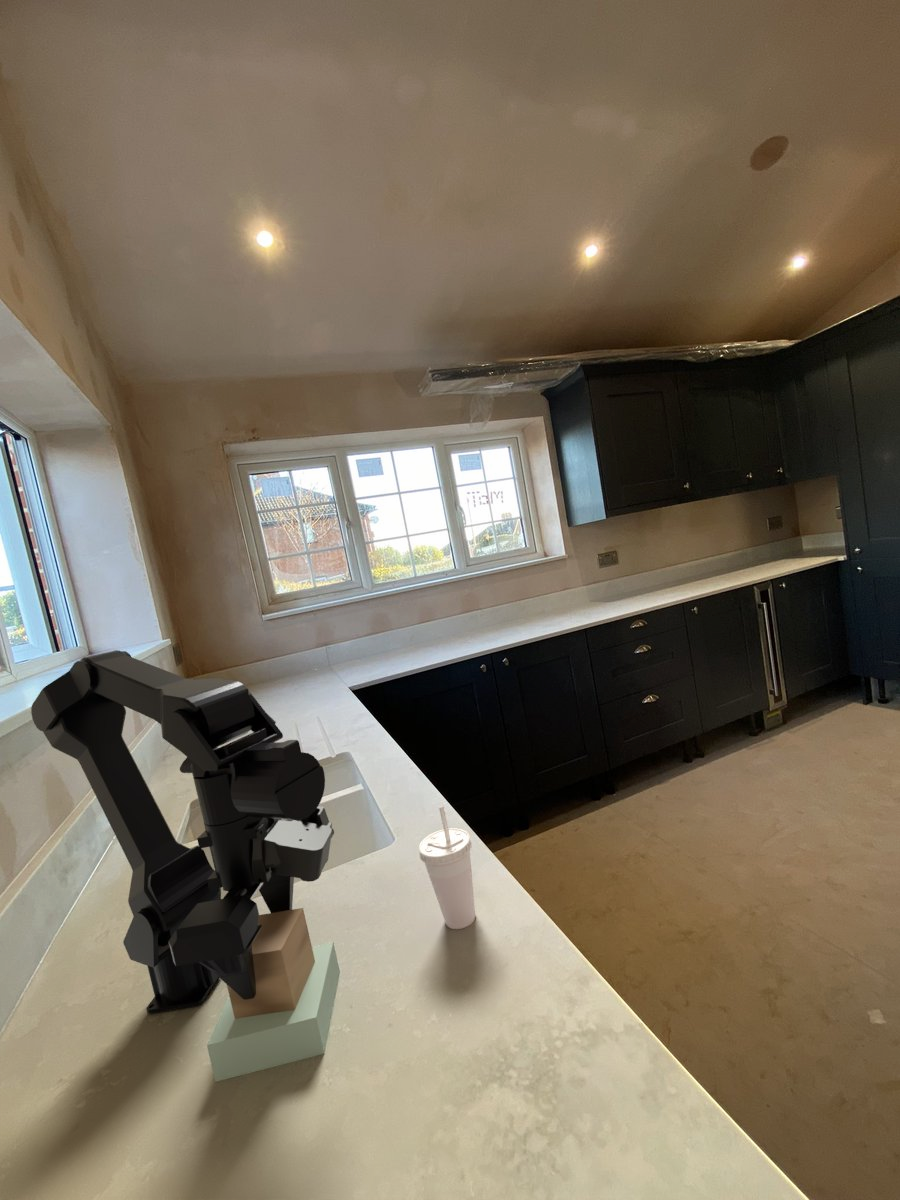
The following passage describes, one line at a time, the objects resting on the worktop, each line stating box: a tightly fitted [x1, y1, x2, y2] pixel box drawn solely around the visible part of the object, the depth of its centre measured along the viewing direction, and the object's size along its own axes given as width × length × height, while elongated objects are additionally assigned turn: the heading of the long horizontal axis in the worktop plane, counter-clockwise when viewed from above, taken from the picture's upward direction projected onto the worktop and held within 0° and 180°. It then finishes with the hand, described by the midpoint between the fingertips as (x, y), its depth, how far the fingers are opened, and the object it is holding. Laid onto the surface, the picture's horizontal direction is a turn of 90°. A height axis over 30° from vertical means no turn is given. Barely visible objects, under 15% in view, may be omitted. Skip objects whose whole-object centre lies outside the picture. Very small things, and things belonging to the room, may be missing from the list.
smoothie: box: [418, 805, 476, 930], centre depth 62 cm, size 6×6×14 cm
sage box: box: [206, 941, 341, 1083], centre depth 52 cm, size 10×10×4 cm
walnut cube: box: [226, 907, 315, 1019], centre depth 52 cm, size 6×6×6 cm
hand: (269, 959), depth 52 cm, fingers open, 9 cm apart
